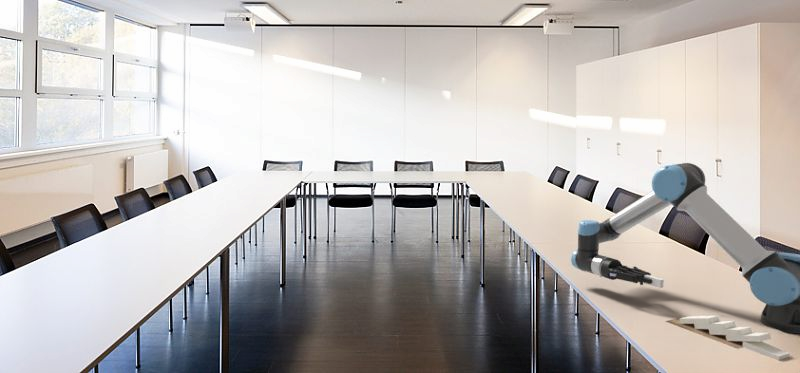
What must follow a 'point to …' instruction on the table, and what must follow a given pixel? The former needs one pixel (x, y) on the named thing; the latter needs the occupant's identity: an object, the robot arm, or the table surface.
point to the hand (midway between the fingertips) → (661, 283)
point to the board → (706, 333)
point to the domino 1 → (699, 319)
